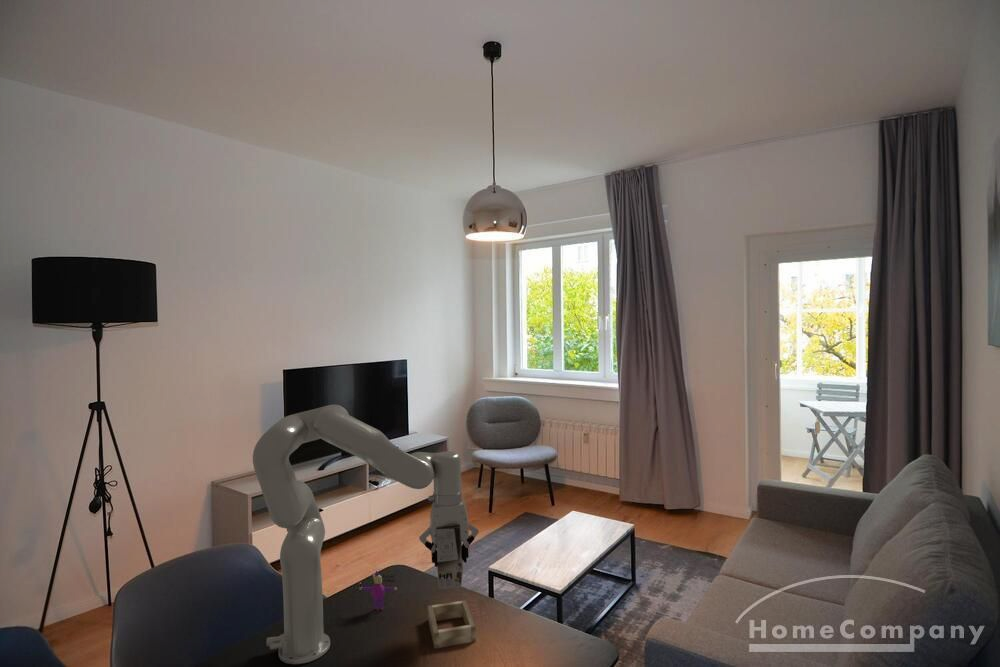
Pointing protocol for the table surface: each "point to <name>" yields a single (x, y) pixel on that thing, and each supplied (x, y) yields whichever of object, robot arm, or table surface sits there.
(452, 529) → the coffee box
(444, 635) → the open wooden box
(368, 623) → the table surface
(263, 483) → the robot arm
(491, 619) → the table surface
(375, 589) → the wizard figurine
